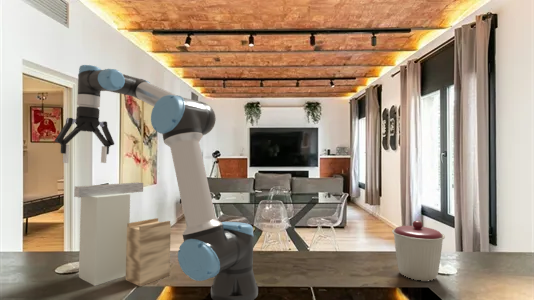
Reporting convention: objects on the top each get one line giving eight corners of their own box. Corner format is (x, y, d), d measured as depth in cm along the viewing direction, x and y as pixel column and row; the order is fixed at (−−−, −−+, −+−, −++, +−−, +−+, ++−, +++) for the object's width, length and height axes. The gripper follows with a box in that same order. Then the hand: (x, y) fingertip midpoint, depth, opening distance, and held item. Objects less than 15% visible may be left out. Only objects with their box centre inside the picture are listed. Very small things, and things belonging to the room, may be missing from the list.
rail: (143, 191, 124) (143, 182, 124) (78, 197, 105) (79, 187, 105) (138, 190, 126) (138, 182, 126) (74, 196, 107) (74, 186, 107)
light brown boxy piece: (169, 275, 114) (170, 221, 115) (140, 286, 105) (141, 226, 105) (155, 270, 120) (156, 218, 120) (125, 279, 110) (127, 223, 110)
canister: (452, 288, 107) (452, 227, 107) (397, 283, 110) (397, 224, 111) (435, 269, 124) (435, 217, 125) (387, 266, 128) (388, 215, 128)
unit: (128, 275, 114) (130, 194, 115) (94, 285, 105) (97, 197, 105) (110, 267, 122) (112, 191, 122) (78, 276, 112) (80, 194, 113)
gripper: (115, 111, 129) (112, 162, 129) (46, 102, 109) (43, 162, 109) (125, 111, 125) (122, 163, 125) (54, 101, 105) (51, 163, 105)
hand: (85, 162), depth 117 cm, fingers open, 13 cm apart
